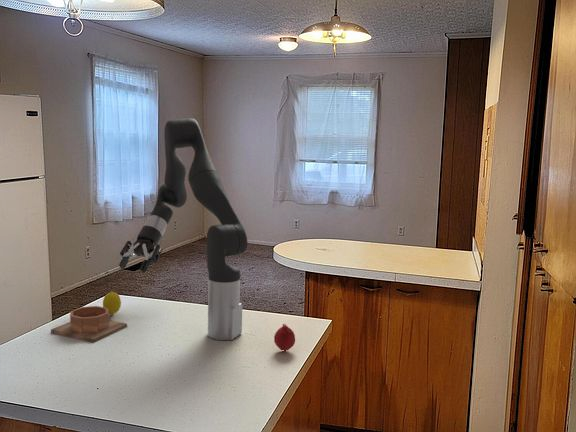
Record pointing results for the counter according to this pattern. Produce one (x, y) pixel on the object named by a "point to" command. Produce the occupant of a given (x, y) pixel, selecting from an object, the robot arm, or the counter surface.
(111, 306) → the lemon
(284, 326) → the onion
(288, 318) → the counter surface
